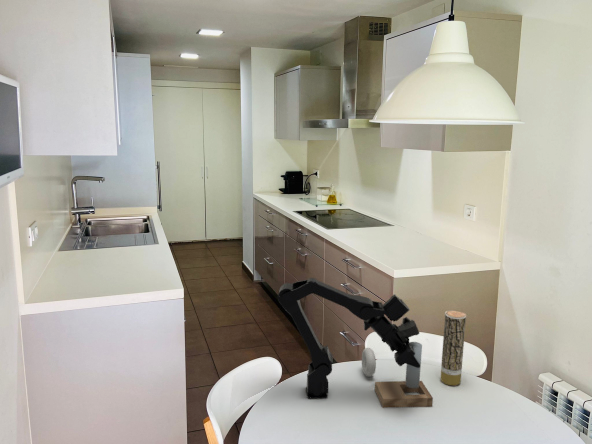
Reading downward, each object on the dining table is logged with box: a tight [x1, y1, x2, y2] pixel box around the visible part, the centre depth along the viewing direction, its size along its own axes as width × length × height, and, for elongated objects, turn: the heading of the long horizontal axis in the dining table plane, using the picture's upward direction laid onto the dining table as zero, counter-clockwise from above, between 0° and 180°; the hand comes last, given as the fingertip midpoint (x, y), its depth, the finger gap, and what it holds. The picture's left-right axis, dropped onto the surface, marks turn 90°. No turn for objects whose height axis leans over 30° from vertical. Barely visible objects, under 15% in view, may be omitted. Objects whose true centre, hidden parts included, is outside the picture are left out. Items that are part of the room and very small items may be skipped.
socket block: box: [374, 380, 434, 409], centre depth 161 cm, size 16×11×3 cm
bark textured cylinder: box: [440, 310, 467, 387], centre depth 171 cm, size 7×7×25 cm
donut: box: [361, 347, 377, 377], centre depth 176 cm, size 10×4×10 cm, turn 6°
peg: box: [405, 341, 423, 388], centre depth 160 cm, size 4×4×14 cm
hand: (418, 363), depth 160 cm, fingers closed on peg, 4 cm apart
